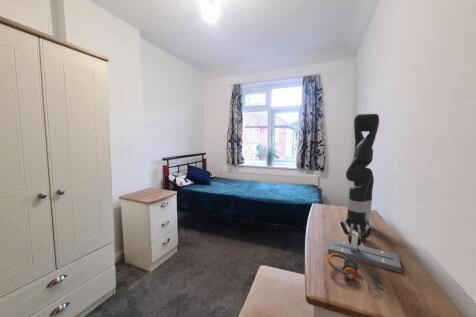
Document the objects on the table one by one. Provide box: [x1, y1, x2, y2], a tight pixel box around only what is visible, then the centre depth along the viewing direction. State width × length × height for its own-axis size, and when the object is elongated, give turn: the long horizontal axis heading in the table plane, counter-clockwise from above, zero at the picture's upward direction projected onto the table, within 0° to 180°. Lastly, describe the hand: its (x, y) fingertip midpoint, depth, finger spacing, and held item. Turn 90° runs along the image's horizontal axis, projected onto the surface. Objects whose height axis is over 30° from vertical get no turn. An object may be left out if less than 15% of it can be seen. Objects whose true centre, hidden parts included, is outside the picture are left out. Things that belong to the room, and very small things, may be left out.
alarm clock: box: [354, 218, 371, 243], centre depth 114 cm, size 11×5×16 cm, turn 168°
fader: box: [350, 231, 358, 252], centre depth 99 cm, size 5×3×7 cm, turn 148°
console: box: [327, 238, 402, 273], centre depth 97 cm, size 12×28×2 cm, turn 58°
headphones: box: [327, 253, 384, 297], centre depth 82 cm, size 17×5×20 cm
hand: (354, 244), depth 99 cm, fingers closed on fader, 2 cm apart
